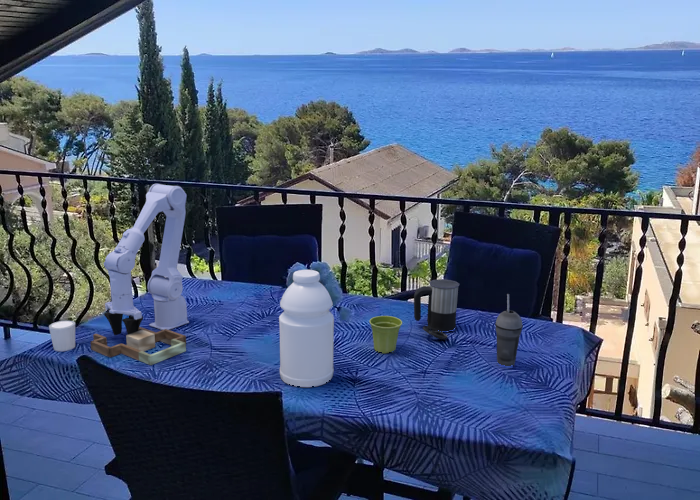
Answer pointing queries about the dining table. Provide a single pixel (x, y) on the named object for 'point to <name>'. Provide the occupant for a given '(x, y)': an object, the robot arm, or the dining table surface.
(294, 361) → the bottle
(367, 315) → the dining table surface
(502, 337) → the beverage cup
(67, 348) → the white tapered cup
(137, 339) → the oak block
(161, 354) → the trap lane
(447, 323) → the milk frother
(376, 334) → the plant pot
